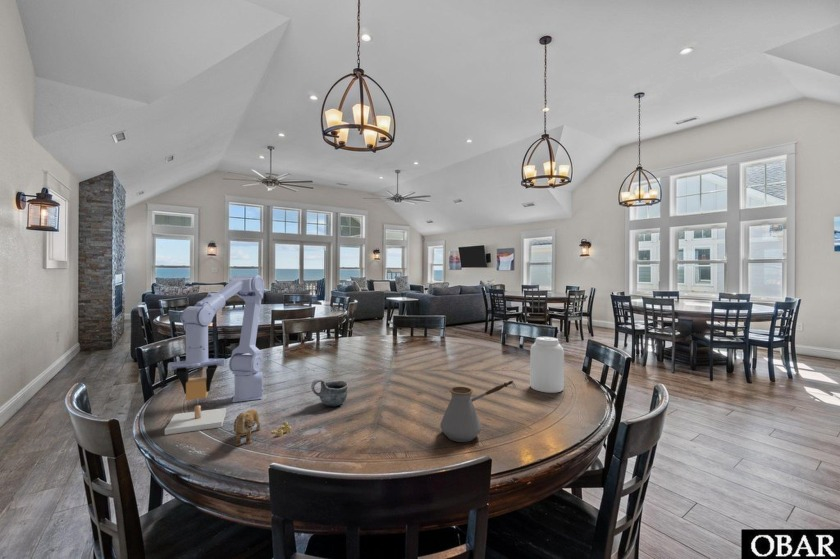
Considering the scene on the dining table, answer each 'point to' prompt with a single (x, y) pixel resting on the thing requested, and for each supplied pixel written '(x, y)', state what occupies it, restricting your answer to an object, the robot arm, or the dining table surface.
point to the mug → (331, 391)
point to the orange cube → (196, 388)
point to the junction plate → (196, 420)
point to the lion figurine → (246, 425)
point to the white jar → (547, 365)
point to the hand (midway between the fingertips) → (197, 391)
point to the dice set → (283, 429)
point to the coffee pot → (464, 414)
